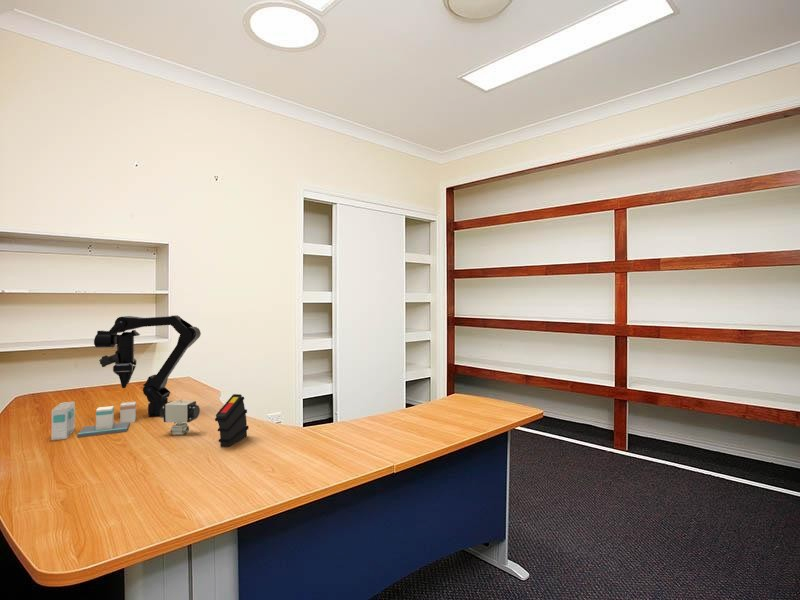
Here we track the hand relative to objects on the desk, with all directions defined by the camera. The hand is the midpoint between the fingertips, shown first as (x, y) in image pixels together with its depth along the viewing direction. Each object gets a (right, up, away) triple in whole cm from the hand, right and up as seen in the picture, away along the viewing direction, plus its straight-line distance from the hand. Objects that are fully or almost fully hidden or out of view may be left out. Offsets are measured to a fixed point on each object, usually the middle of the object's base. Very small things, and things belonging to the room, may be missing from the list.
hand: (125, 386), depth 170 cm
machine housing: (-5, -12, -24) cm, 28 cm away
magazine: (+56, -12, -32) cm, 66 cm away
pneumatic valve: (+34, -12, -23) cm, 43 cm away
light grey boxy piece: (+6, -12, -8) cm, 16 cm away
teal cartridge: (+6, -11, -20) cm, 23 cm away
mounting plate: (+6, -12, -20) cm, 24 cm away
